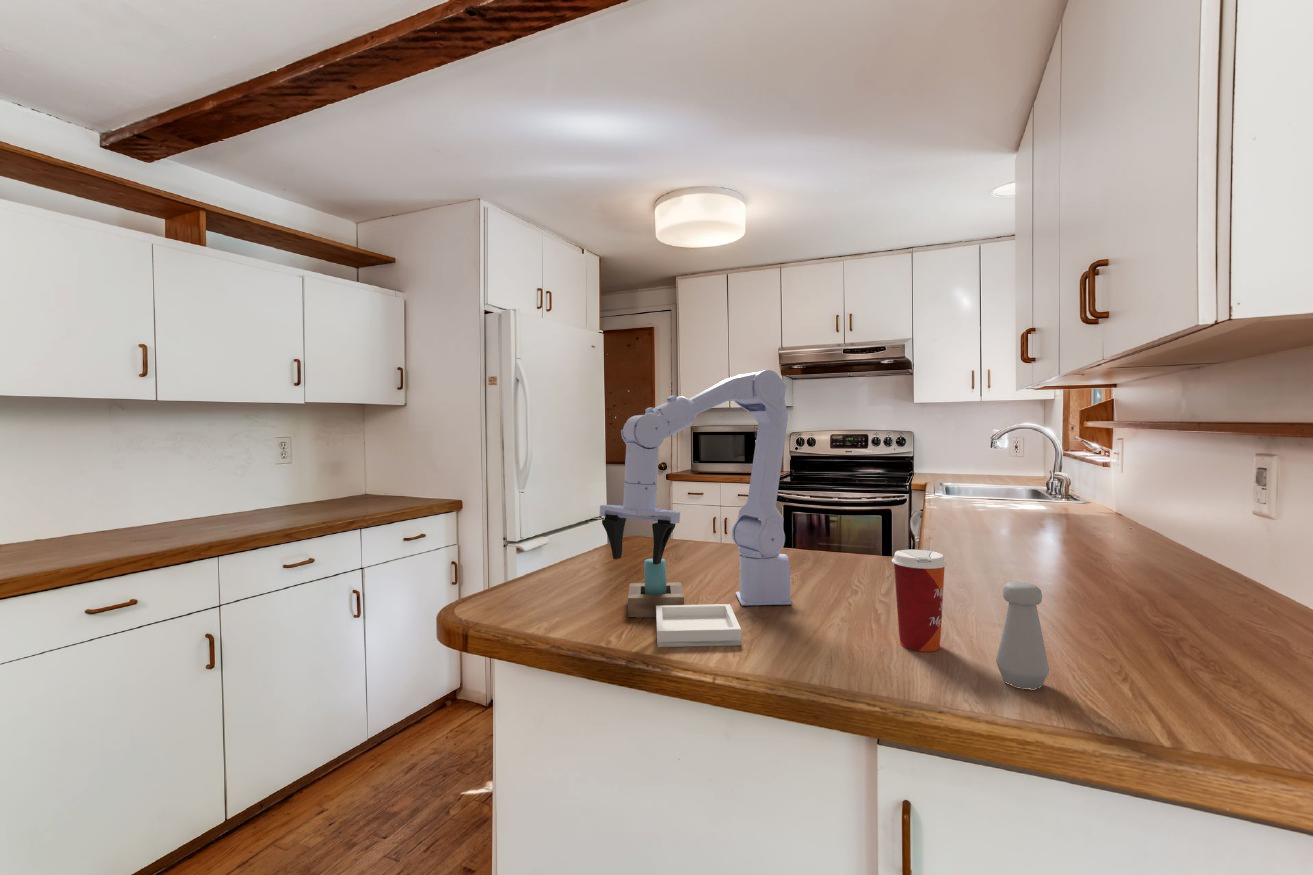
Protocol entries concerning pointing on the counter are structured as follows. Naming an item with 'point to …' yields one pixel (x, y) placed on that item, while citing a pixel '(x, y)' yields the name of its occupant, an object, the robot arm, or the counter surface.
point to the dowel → (655, 577)
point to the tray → (697, 625)
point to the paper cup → (919, 598)
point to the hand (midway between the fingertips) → (636, 561)
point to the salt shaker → (1022, 638)
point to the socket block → (652, 599)
